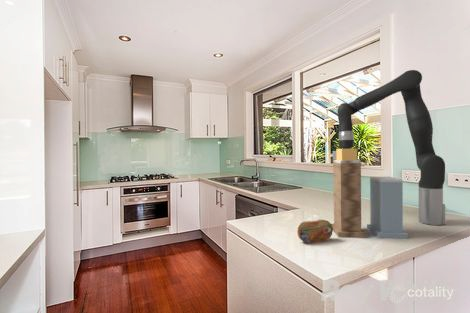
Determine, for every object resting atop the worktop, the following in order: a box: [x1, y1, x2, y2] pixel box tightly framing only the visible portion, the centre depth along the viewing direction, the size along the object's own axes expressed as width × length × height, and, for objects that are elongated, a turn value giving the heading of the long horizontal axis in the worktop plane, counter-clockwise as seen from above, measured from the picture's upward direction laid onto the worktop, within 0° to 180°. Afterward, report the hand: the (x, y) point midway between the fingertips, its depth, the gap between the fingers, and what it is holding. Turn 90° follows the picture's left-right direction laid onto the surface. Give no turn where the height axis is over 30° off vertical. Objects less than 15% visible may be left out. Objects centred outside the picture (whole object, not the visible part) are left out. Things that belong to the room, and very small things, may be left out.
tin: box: [297, 219, 334, 244], centre depth 97 cm, size 15×3×8 cm, turn 105°
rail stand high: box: [330, 159, 367, 239], centre depth 105 cm, size 11×12×32 cm
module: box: [332, 148, 358, 161], centre depth 110 cm, size 6×18×5 cm, turn 172°
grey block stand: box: [366, 176, 409, 240], centre depth 103 cm, size 11×12×24 cm
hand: (347, 168), depth 134 cm, fingers open, 8 cm apart
